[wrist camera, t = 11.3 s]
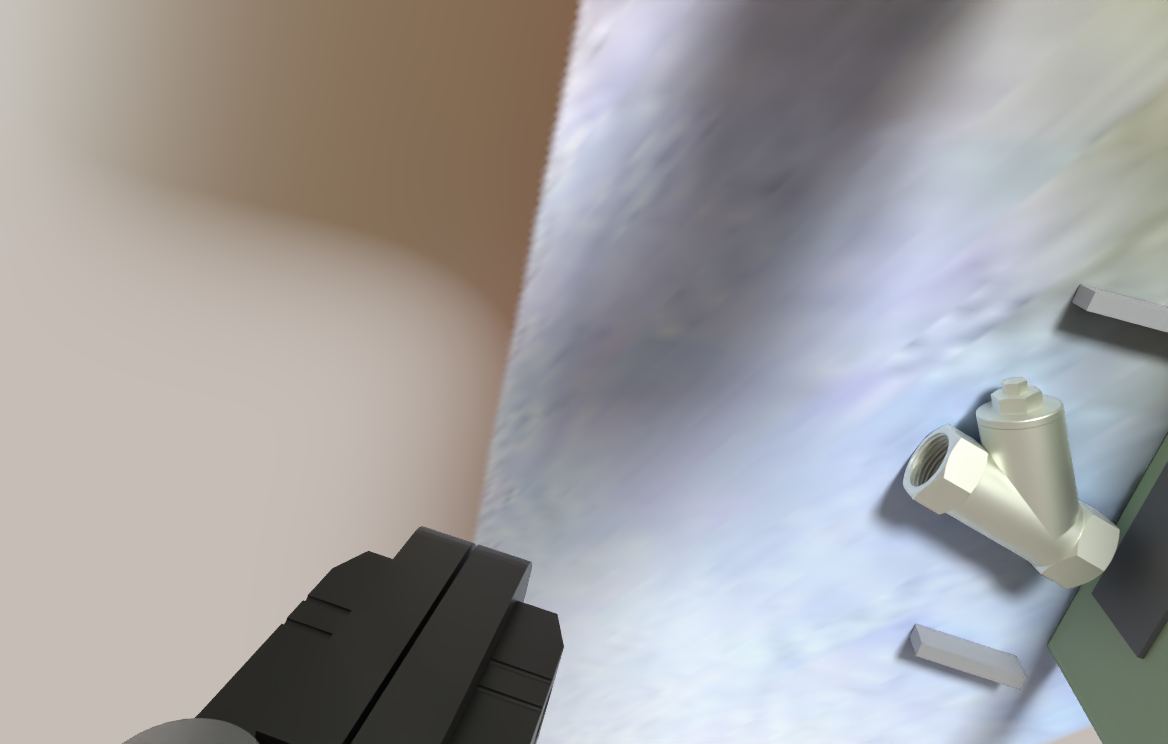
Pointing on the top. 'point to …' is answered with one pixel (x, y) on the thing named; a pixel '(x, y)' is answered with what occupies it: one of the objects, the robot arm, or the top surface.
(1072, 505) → the pipe fitting
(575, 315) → the top surface
